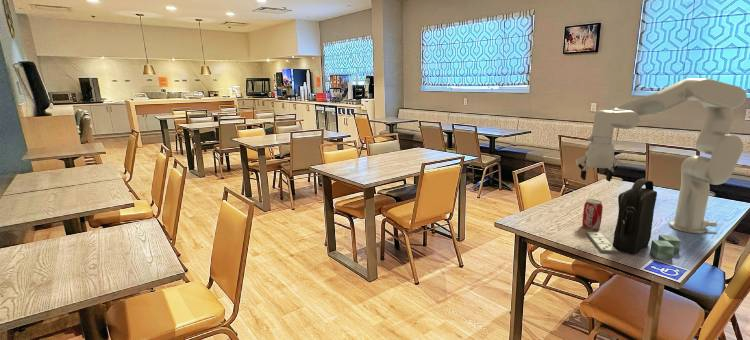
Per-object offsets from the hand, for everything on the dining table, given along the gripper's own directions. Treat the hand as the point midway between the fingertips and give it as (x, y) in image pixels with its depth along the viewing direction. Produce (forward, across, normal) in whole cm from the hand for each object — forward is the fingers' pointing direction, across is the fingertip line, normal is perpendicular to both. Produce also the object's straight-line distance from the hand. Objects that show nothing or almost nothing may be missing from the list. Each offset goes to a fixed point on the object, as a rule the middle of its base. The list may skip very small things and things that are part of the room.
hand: (595, 180), depth 162 cm
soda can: (+22, +1, 0) cm, 22 cm away
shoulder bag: (+22, +9, -19) cm, 31 cm away
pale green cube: (+21, +22, -19) cm, 36 cm away
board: (+22, -1, -17) cm, 27 cm away
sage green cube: (+21, +17, -25) cm, 37 cm away
